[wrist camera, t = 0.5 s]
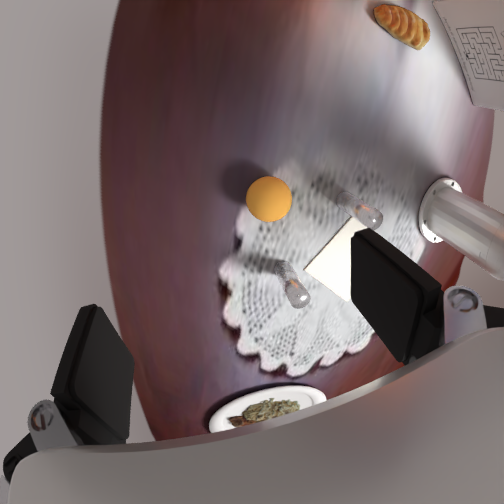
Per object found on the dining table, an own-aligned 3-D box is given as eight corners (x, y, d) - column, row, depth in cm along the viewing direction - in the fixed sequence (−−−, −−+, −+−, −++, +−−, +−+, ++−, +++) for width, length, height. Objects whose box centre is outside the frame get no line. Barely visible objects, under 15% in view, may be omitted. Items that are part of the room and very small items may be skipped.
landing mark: (391, 252, 45) (392, 252, 45) (346, 301, 48) (346, 302, 48) (356, 211, 40) (357, 211, 40) (304, 269, 43) (304, 270, 43)
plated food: (274, 363, 53) (278, 376, 50) (343, 397, 66) (348, 406, 63) (183, 424, 59) (184, 435, 56) (263, 445, 72) (266, 454, 69)
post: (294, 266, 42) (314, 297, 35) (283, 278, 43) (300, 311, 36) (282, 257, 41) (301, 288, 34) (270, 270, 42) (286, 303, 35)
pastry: (370, 31, 28) (386, 26, 24) (370, -3, 25) (385, -10, 21) (417, 52, 30) (433, 51, 26) (416, 20, 27) (431, 16, 23)
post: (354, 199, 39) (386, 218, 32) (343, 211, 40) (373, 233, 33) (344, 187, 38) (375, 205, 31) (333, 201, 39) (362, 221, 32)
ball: (292, 189, 37) (307, 202, 32) (265, 220, 38) (276, 237, 33) (261, 163, 34) (273, 172, 30) (233, 196, 36) (240, 210, 31)
